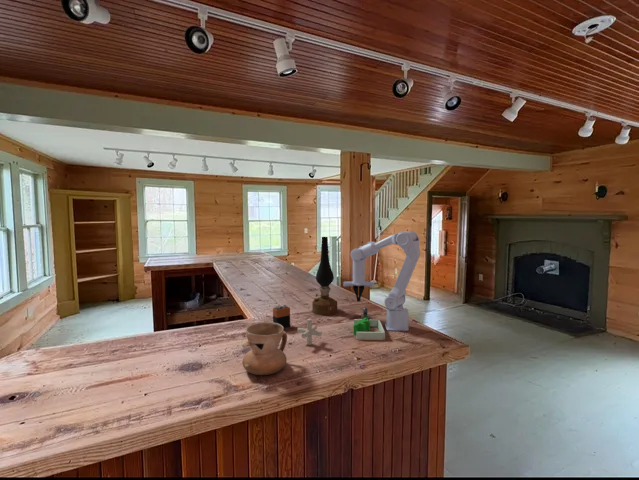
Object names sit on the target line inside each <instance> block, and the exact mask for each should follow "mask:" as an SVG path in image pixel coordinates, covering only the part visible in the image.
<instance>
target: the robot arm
mask: <svg viewBox="0 0 639 480" xmlns="http://www.w3.org/2000/svg"><path fill="white" fill-rule="evenodd" d="M390 245H398V246H399V248H401V249H402V250H403V251H404V254H405V258H404V261H403V263H402V266H401V269H400V271H399V272H398V273H399V274H398V276H397V278H396V281H395V283H394V285H393V288H392V289H391V290H390V291H389V293H388V295H387V296H385V298H384V299H383V300H384V301H383V304H384V306H385V307H386V317H385V318H386V322H385V323H384V327H385V329H386V331H398V332H399V331H400V332H401V331H405V332H408V331H409V329H410V328H409V319H410V318H409V317H410V316H409V310H408V309H407V307H404V303H405V302H406V294H407V291H406V289H407V288H408V286H409V283H410V280H411V277H412V275H413V273H414V272H415V268H416V266H417V263H418V261H419V259H420V256H421V249H420V238H419V236H418V234H417V233H416V232H415V231H414V230H407V231H399V232H398V233H394V234H391V235H389V236H386V237H385V238H383V239H381V240H380V241H377V242H375V241H368V242H366V244H364V245H360V246H358V247H357V248H353V249H352V250H351V251H350V259H351V260H352V280H351V281H343V282H342V283H343V287H352V289H353V292H354V293H355V298H356V301H357V302H359V303H360V302H361V297H362V294H363V292H364V290H365V287H370V288H371V287H372V288H374V287H375V282H374V281H365V278H366V275H365V274H366V273H365V271H366V269H365V268H366V267H365V265H366V258H368V257H371V256H374V255H376V254H378V253H379V251H380V250H381V249H383V248H385V247H389V246H390Z"/></svg>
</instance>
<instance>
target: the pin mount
mask: <svg viewBox="0 0 639 480" xmlns="http://www.w3.org/2000/svg"><path fill="white" fill-rule="evenodd" d="M364 318H368V321H370V319H372V315H371V314H369V313H368V314H363V313H362V314H360V319H364Z"/></svg>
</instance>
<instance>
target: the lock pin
mask: <svg viewBox="0 0 639 480" xmlns="http://www.w3.org/2000/svg"><path fill="white" fill-rule="evenodd" d="M362 309H363V311H362V314H369V312H368V311H369V310H368V309H369V308H368V307H363V308H362ZM367 321H368V318H367Z"/></svg>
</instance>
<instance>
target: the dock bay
mask: <svg viewBox="0 0 639 480" xmlns="http://www.w3.org/2000/svg"><path fill="white" fill-rule="evenodd" d="M361 320H362V319H361V318H357V319H356V318H355V319H353V325H354V324H356V323H357V322H359V321H361ZM382 324H383V323H382V322H381V320H380V319H372V318H371V319H370V327H377V328H378V331H365V332H356V335H355V337H356V339H355V340H359V341H360V340H361V341H362V340H365V341H366V340H367V341H373V340H375V341H385V340H386V331H385V329H384V327H383V325H382Z"/></svg>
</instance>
